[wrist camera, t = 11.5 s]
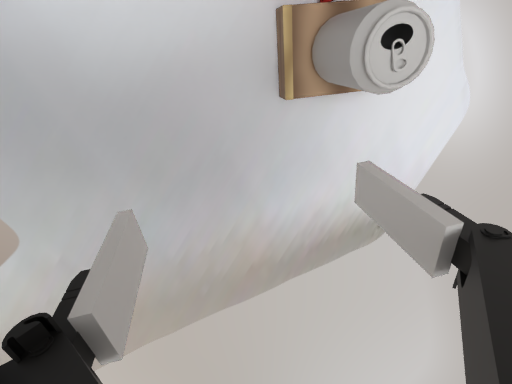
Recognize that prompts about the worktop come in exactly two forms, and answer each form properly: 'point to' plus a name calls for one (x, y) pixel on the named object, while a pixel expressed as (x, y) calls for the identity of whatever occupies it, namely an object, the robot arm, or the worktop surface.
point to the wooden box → (306, 47)
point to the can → (374, 46)
